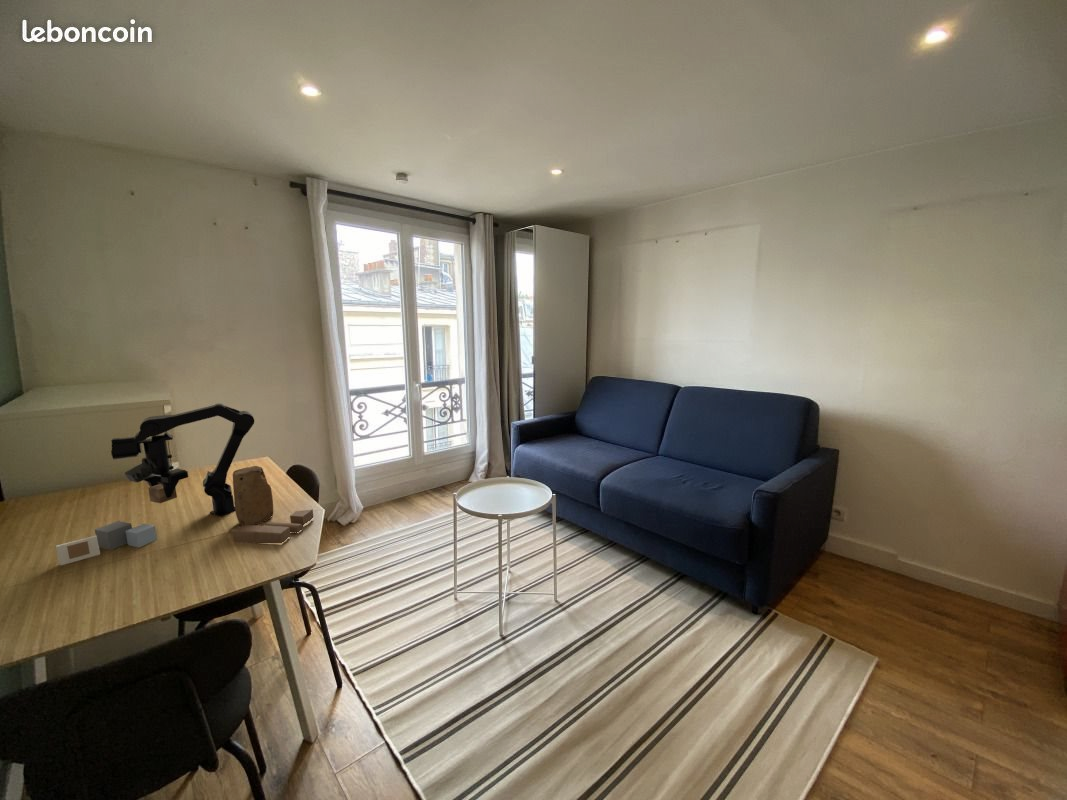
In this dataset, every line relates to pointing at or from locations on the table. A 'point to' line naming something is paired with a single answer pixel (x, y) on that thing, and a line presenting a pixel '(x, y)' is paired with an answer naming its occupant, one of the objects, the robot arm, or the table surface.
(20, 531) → the table surface
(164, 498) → the walnut cube
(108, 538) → the base block
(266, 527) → the wooden block set
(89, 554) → the placard
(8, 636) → the table surface
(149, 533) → the slate cube
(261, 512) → the block
